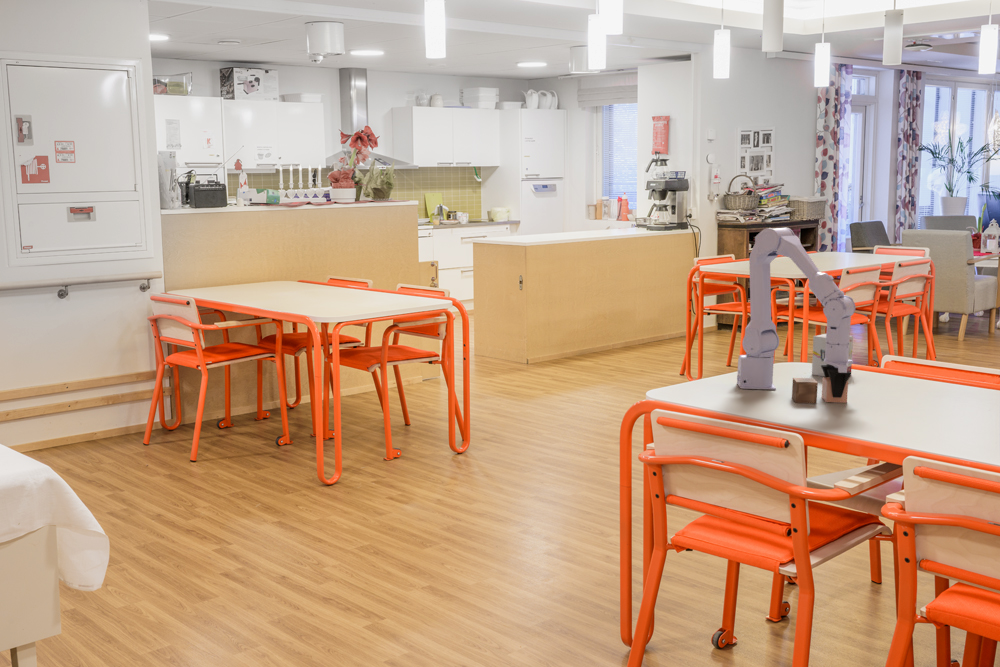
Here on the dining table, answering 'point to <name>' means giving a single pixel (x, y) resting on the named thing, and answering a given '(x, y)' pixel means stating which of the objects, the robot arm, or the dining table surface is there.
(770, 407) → the dining table surface
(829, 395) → the salmon pink block
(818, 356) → the ink box
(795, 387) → the brown block
